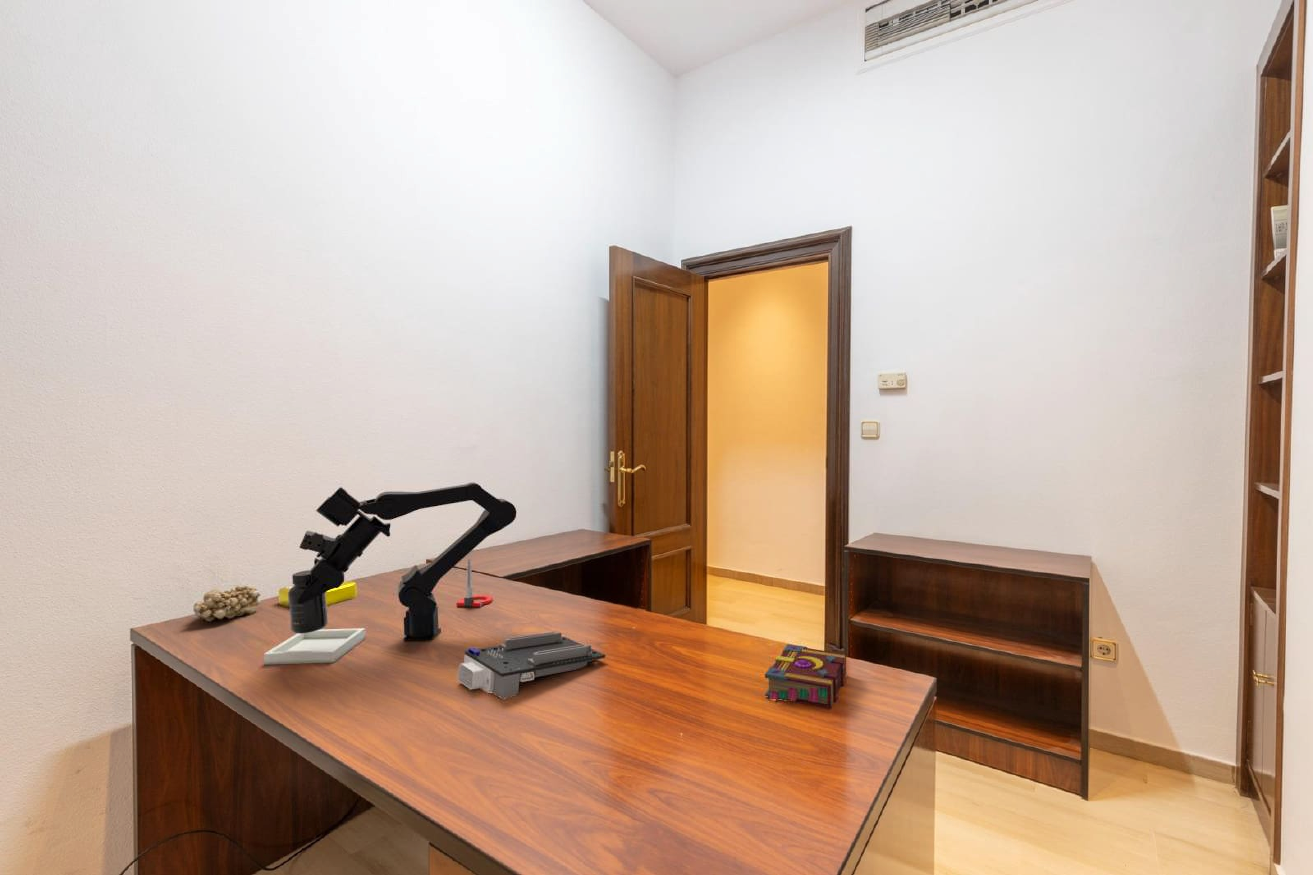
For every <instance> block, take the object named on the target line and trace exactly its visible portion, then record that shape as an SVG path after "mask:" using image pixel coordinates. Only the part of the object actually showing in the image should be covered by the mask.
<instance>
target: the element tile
mask: <svg viewBox="0 0 1313 875" xmlns="http://www.w3.org/2000/svg"><path fill="white" fill-rule="evenodd" d="M293 586H294V584H292V585H290V586H285V587H281V588H279V590H278V604H279V605H280V606H284V607H289V599H288V592H289V590H290V589H291V588H292V587H293ZM357 594H358V592H357V583H356V581H355V582H354V581H350V580H345V579H344V582H343V583H342V584H341V585H340V586H339V588H338V589H337V588H335V589H331V590H329V591H327V592H326V604H327V606H329V605H333V604H336V603H340V602H344V601H347V600H350V599H355V598H357Z"/></svg>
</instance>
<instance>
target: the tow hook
mask: <svg viewBox="0 0 1313 875" xmlns="http://www.w3.org/2000/svg"><path fill="white" fill-rule="evenodd" d="M471 559H472V558H471V557H468V558H467V566H466V587H465V590H466V591H465V593H466V594H465V596H464V597H462V598H461V599H459V601H458V600H457V602H456V607H457V608H471V609H472V608H482V606H483V605H487V604H490V603H492V602H493V601H494V600H493V597H492V596H490V595H485V594H484V595H481V594H479V595H473V587H472V564H471V563H472V560H471ZM475 600H477V601H475Z"/></svg>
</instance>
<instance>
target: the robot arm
mask: <svg viewBox="0 0 1313 875" xmlns="http://www.w3.org/2000/svg"><path fill="white" fill-rule="evenodd" d="M468 501H472V502H474V503H475V504H477V505H478V506H480V507H481V508H483V511H482V513H481V514H480V516H479V517H478V519H477V520H476V522H475V523H474V524H473V525H472V526H471V527H470V528H469V529H468V530H466V531H465V532H464V533H463V534H462V535H460V536H459V537H458V538H457V539H456V540H455V541H454V542H452V544H450V545H449V546H448V547H447V548H446V549H444V551H442V553H440V554H439V555H438V556H437V557H436V558H434V559H433V560H432V561H431V562H429V563H428V564H427V565H425V566H424V567H421V568H419V566H418V565H416V564H414V566H413V567H412V568H411V569H410V571H408V572H407V573H406V574H404V575H401V581H400V582H399V583H398V585H397V594H398V600H399V603H400V604H401V605H402V606H404V607H405V608H408V609H407V610H406V611H405V616H404V617H403V635H404V637H403V641H404V642H410V641H411V642H414V641H415V642H416V641H432V640H434V639H435V638H436V636H437V635H438V634H439V633H440V632H442V628H441V627H439V606H438V604H437V601H436V598H435V595H434V593H433V591H434V590H435V587H436V586H437V584H438V583H439V582H440V580H441V579H442V578H443V577H444V576H445V575H446V574H447V573H448V572H449V571H451V570H452V569H453V568H454V567H456V565H457V564H459V562H461V561H462V560H463V559H464V558H465V557H466V556H468V555H469V554H470V553H471V552H473V550H474V549H475V548H476V547H478V546H479V545H480V544H481V543H482V542H484V540H485V539H486V538H487V537H489V536H491V535H493V534H495V533H498V532H499V531H502V530H504V528H506V527H507V526H509V525H511V524H512V523H513V522H514V521H515V519H516V518H517V508H516V507H515V505H514V504H513V503H512V502H510V501H508V500H507V499H503V498H497V497H495V496H494V495H493V494H491V493H489V492H488V491H486V490H485V489H484V488H482V486H481V485H480V484H478V483H476V482H468V483H466V484H459V485H454V486H453V485H452V486H448V487H440V488H435V489H428V490H423V491H422V490H421V491H384V492H381V493H379V494H378V495H376V497H375V498H371V499H368V500H367V499H366V500H365V499H364V500H363V501H359V500H358V499H356V498H355V497H353V496H352V495H351V494H350V493H349V492H347V490H346V489H344V488H343V487H342V486H340V487H339V488H337V490H336V491H334V493H333V494H331V496H328V497H327V498H326V499H325V500H324V501H323V502H322V504H320V505H319V507H318V508H316V510H315V512H316V513H318V514H320V515H321V516H322V517H324V518H325V519H326V520H328V521H329V522H330V523H332V524H334V525H335V526H336V527H337V528H338V527H339V526H344V527H347V525H349V524H350V523H351V522H352V521H353V520H354V519H355V517H356V516H358V517H357V518H356V519H355V520H354V521H353V522H352V523H351V525H350V526H348V528H346V529H345V530H344V531H343V533H341V534H337V536H336V537H330V536H328V535H325V534H323V533H318V532H316V531H315V532H314V531H310V530H306V532H305V533H304V535H303V538H302V539H301V540H302V541H301V543H300V545H299V548H300V549H302V550H304V551H305V550H306V551H307V550H309V551H313V552H315V553H317V554H316V557H315V558H314V561H313V562H314V563H313V566H312V567H311V569H310V570H311V581H310V582H309V583H308V585H307V586H306V588H305V589H304V591H303V592H302V594H301V595H300V597H299V598H298V600H297V603H299V604H303V603H305V602H307V601H309V600H311V599H313V598H315V597H317V596H319V595H321V594H323V593H325V592H327V591H329V590H331V589H335V588H337V589H338V588H339V586H340V585H341V584H342V583H343V582H344V580H345V577H346V576H345V573H347V571H348V570H349V569H350V568H349V567H350V566H351V565H352V564H353V563H354V562H355V561H356V559H358V558H361V556H362V555H363V554H364V551H365V550H366V549H367V548H368V547H369V545H370V544H372V543H373V541H374V540H375V539H376V538H377V537H378V536H379V535H380V534H381V533H382V534H383V535H385V536H386V537H388V538H389V537H391V531H390V529H391V523H390V522H387V523H384V522H383V521H382V520H384V521H392V520H395V519H397V518H401V517H403V516H406V515H409V514H410V513H413V512H415V511H418V510H423V509H427V508H435V507H439V506H445V505H451V504H457V503H463V502H468ZM367 515H373V516H372V517H369V516H367ZM376 516H377V517H376ZM379 518H380V519H381V520H380V519H379Z"/></svg>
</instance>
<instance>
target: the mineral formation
mask: <svg viewBox="0 0 1313 875" xmlns="http://www.w3.org/2000/svg"><path fill="white" fill-rule="evenodd" d="M260 597H261V593H260V590H259V588H258V587H253V585H252V584H245V585H244V586H243V585H241V584H239V585H236V586H235V587H234V588H230V590H229V589H226V590H225V591H222V590H218V589H217V588H216V589H215V588H214V589H212V590H210V591H207V592H206V593H205V594H204V595H203V597H202V601H197V602H195V603H194V604H193V612H194V614H195V616H197V618H200V619H201V618H202V619H205V621H206V622H213V621H215V620H216V619H217V620H223V619H225V618H226V619H231V618H232V619H233V618H234V617H241V616H243V615H245V613H246V614H247V615H252V614H253V613H255V612H256V611H257V609H258V606H260V604H261V603H262V600H261V599H260ZM212 620H213V621H212Z"/></svg>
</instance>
